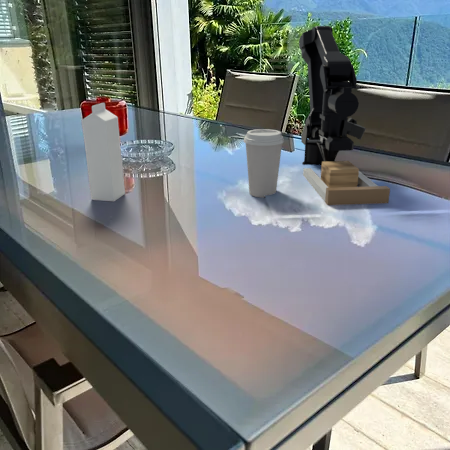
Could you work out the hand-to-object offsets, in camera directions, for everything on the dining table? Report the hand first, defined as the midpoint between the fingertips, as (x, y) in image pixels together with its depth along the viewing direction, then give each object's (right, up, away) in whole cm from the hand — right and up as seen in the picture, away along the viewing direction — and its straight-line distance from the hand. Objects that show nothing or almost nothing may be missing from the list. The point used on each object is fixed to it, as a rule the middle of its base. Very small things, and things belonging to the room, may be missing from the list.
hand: (328, 169), depth 125 cm
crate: (+1, -5, -8) cm, 9 cm away
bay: (+1, -6, -10) cm, 12 cm away
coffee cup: (-19, -8, -12) cm, 24 cm away
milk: (-57, -9, -13) cm, 59 cm away
